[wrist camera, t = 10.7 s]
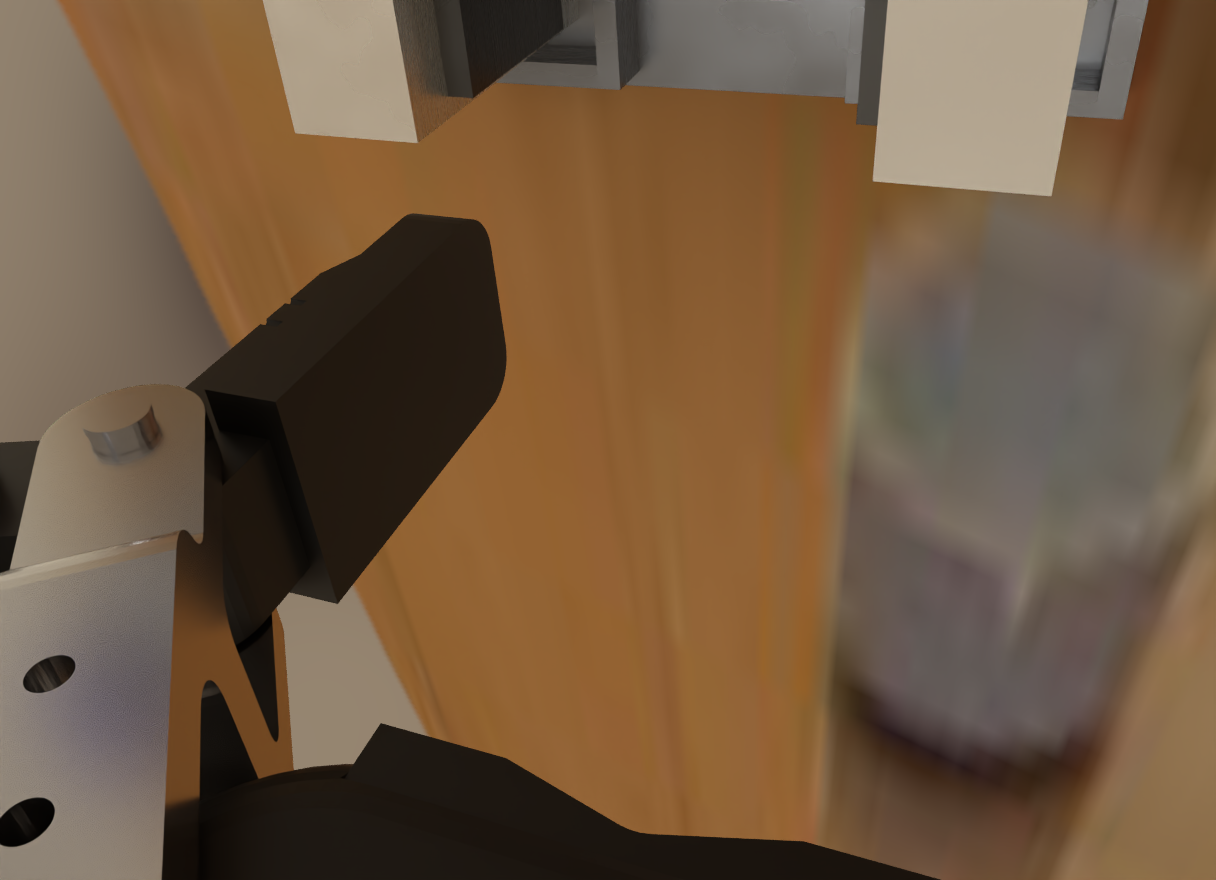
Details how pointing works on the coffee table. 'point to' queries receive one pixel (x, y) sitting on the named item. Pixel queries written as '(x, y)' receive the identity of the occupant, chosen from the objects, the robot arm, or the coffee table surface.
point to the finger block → (969, 90)
